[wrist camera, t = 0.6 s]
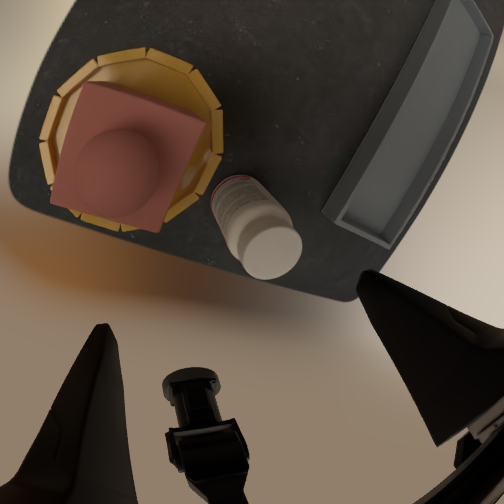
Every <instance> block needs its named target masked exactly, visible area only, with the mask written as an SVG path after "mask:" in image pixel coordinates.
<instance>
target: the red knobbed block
mask: <svg viewBox="0 0 504 504" xmlns="http://www.w3.org/2000/svg"><path fill="white" fill-rule="evenodd" d="M205 126H206V122H205V121H204V120H203V119H201V118H200V117H199V116H198V115H196V114H195V113H194V112H193V111H190V110H187V109H185V108H182V107H180V106H177V105H174V104H172V103H169V102H166V101H164V100H161V99H158V98H155V97H153V96H150V95H147V94H144V93H141V92H138V91H135V90H132V89H129V88H126V87H122V86H119V85H116V84H112V83H109V82H106V81H86V82H85V83H84V84H83V87H82V89H81V92H80V94H79V97H78V100H77V102H76V105H75V108H74V111H73V114H72V117H71V120H70V123H69V126H68V129H67V132H66V136H65V139H64V143H63V146H62V150H61V153H60V157H59V161H58V165H57V170H56V174H55V179H54V183H53V188H52V193H51V199H50V203H51V204H54V205H58V206H61V207H65V208H69V209H72V210H76V211H79V212H83V213H86V214H90V215H93V216H97V217H101V218H104V219H108V220H111V221H115V222H118V223H122V224H126V225H129V226H133V227H136V228H140V229H144V230H147V231H151V232H154V233H159V231H160V229H161V227H162V224H163V221H164V219H165V216H166V214H167V211H168V209H169V206H170V204H171V201H172V199H173V197H174V194H175V192H176V190H177V187H178V185H179V182H180V180H181V178H182V176H183V173H184V171H185V169H186V167H187V164H188V162H189V160H190V158H191V156H192V153H193V151H194V149H195V147H196V145H197V143H198V141H199V139H200V137H201V134H202V132H203V130H204V128H205Z"/></svg>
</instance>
